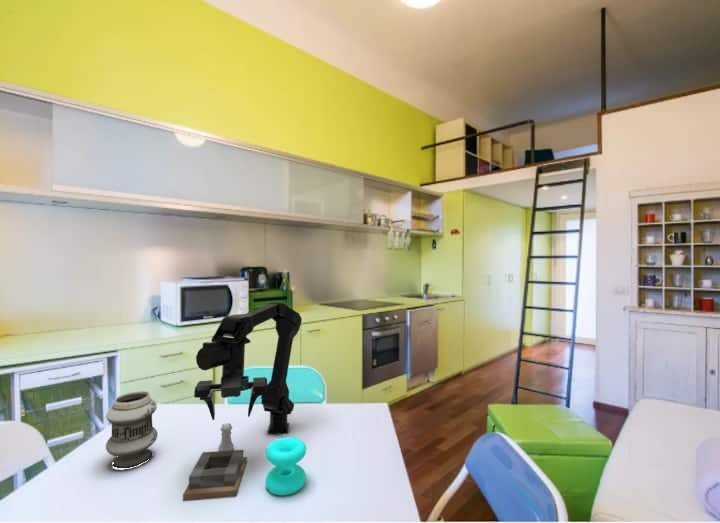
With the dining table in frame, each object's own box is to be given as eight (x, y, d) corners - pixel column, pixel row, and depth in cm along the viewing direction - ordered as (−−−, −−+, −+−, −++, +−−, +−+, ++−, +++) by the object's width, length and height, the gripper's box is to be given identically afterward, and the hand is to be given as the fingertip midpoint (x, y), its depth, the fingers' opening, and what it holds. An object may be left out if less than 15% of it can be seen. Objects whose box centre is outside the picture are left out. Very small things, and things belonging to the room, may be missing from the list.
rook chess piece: (237, 450, 101) (237, 423, 101) (225, 458, 97) (226, 430, 97) (226, 446, 103) (226, 420, 103) (214, 454, 99) (214, 426, 99)
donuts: (302, 456, 81) (260, 455, 81) (301, 498, 81) (259, 497, 81) (309, 435, 91) (272, 434, 91) (309, 473, 91) (271, 471, 91)
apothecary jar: (101, 460, 96) (102, 396, 96) (149, 443, 104) (150, 385, 104) (111, 479, 87) (112, 409, 87) (163, 459, 96) (164, 396, 96)
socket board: (201, 465, 94) (201, 449, 94) (247, 462, 95) (247, 446, 95) (182, 500, 80) (183, 481, 80) (236, 496, 82) (236, 477, 82)
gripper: (191, 371, 85) (189, 435, 85) (268, 367, 91) (266, 427, 90) (198, 360, 96) (196, 416, 95) (267, 357, 101) (265, 410, 101)
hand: (231, 417), depth 95 cm, fingers open, 9 cm apart
